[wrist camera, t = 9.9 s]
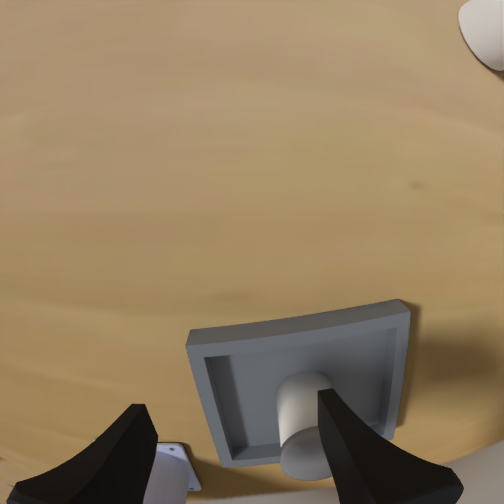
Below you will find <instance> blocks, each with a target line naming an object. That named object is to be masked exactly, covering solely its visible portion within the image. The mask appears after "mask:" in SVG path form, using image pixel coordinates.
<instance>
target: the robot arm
mask: <svg viewBox="0 0 504 504" xmlns="http://www.w3.org/2000/svg"><path fill="white" fill-rule="evenodd" d="M317 398H318V429H319V434H320V438H321V443H322V447H323V450H324V453H325V456H326V458H327V461H328V464H329V467H330V470H331V473H332V476H333V479H334V482H335V485H336V488H337V492H338V496H339V501H340V504H456V502H457V501H458V499H459V498H460V496H461V494H462V492H463V489H464V487H463V485H462V483H461V481H460V480H459V478H458V477H457V475H456V474H455V473H454V472H453V470H452V469H451V468H448V467H444V466H441V465H437V464H434V463H431V462H428V461H426V460H423V459H421V458H418V457H416V456H414V455H412V454H410V453H408V452H406V451H404V450H402V449H400V448H399V447H397V446H395V445H394V444H392V443H391V442H389V441H388V440H386V439H385V438H383V437H382V436H381V435H379V434H378V433H377V432H375V431H374V430H373V429H372V428H371V427H369V426H368V425H367V424H366V423H365V422H364V421H363V420H362V419H361V418H359V417H358V416H357V415H356V414H355V413H354V412H353V411H352V410H351V408H350V407H349V406H348V405H347V404H346V403H345V402H344V401H343V400H342V398H341V397H340V396H339V395H338V393H337V392H336V391H335V390H334V389H333V388H329V389H324V390H318V391H317ZM157 442H158V434H157V432H156V430H155V427H154V425H153V423H152V420H151V418H150V416H149V413H148V411H147V408H146V406H145V404H131V405H130V406H129V407H128V408H127V409H126V410H125V411H124V412H123V413H122V414H121V415H120V417H119V418H118V419H117V420H116V421H115V422H114V423H113V424H112V425H111V426H110V427H109V428H108V429H107V430H106V431H105V432H104V433H103V434H101V435H100V436H99V437H98V438H97V439H94V440H93V442H92V443H91V444H90V445H89V446H88V447H87V448H85V449H84V450H83V451H81V452H80V453H79V454H77V455H76V456H74V457H73V458H71V459H70V460H68V461H66V462H65V463H63V464H61V465H59V466H58V467H56V468H54V469H52V470H50V471H48V472H45V473H43V474H41V475H38V476H35V477H33V478H29V479H26V480H23V481H20V482H17V483H16V484H15V486H14V488H13V490H12V491H11V493H10V495H9V497H8V499H7V501H6V502H7V504H186V499H187V492H188V491H200V490H201V485H200V483H199V481H198V478H197V476H196V474H195V472H194V470H193V468H192V465H191V463H190V461H189V459H188V456H187V454H186V452H185V449H184V447H183V446H182V445H181V444H179V443H157Z"/></svg>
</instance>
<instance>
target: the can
mask: <svg viewBox="0 0 504 504" xmlns="http://www.w3.org/2000/svg"><path fill="white" fill-rule="evenodd" d="M459 27H460V31H461V34H462V36H463V38H464V40H465V42H466V44H467V46H468V47H469V49H470V50H471V51H472V53H473V54H474V55H475V56H476V57H477V58H478V59H479V60H480V61H481V62H483V63H484V64H486V65H487V66H488V67H490V68H492V69H494V70H498V71H502V70H504V0H470V1H469V2H467V3H465V4H464V5H463V6H462V7H461V8H460V11H459Z"/></svg>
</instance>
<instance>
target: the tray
mask: <svg viewBox="0 0 504 504" xmlns="http://www.w3.org/2000/svg"><path fill="white" fill-rule="evenodd" d="M410 316H411V311H410V310H409V309H408V308H407V307H406V306H405V305H404V304H403V303H402V302H401V301H400V300H399V299H394V300H389V301H384V302H379V303H374V304H369V305H363V306H358V307H352V308H347V309H341V310H335V311H329V312H323V313H317V314H311V315H305V316H298V317H291V318H284V319H277V320H270V321H263V322H255V323H247V324H239V325H231V326H222V327H213V328H204V329H194V330H190V333H189V336H188V339H187V342H186V345H185V346H186V350H187V354H188V358H189V361H190V365H191V369H192V372H193V376H194V379H195V383H196V386H197V390H198V393H199V396H200V400H201V403H202V406H203V410H204V413H205V416H206V419H207V423H208V426H209V429H210V432H211V435H212V438H213V441H214V444H215V447H216V450H217V453H218V456H219V459H220V462H221V464H222V467H223V468H228V467H243V466H255V465H265V464H274V463H281V460H280V449H281V443H280V433H279V423H278V413H277V404H276V390H277V388H278V386H279V384H280V383H281V382H282V381H283V380H284V379H285V378H286V377H288V376H290V375H291V374H294V373H296V372H300V371H309V370H310V371H317V372H320V373H322V374H324V375H326V376H327V377H328V378H329V379H330V381H331V383H332V386H333V389H334V390H335V391H336V392H337V393H338V395H339V396H340V397H341V398H342V400H343V401H344V402H345V403H346V404H347V405H348V406H349V407H350V408H351V410H352V411H353V412H354V413H355V414H356V415H357V416H358V417H359V418H361V419H362V420H363V421H364V422H365V423H366V424H367V425H368V426H369V427H371V428H372V429H373V430H374V431H375V432H377V433H378V434H379V435H381V436H382V437H383V438H385V439H386V440H391V439H393V436H394V431H395V427H396V422H397V416H398V411H399V405H400V400H401V394H402V387H403V381H404V374H405V366H406V358H407V349H408V340H409V329H410Z"/></svg>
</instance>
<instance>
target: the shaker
mask: <svg viewBox="0 0 504 504" xmlns="http://www.w3.org/2000/svg"><path fill="white" fill-rule="evenodd" d="M329 388H333V386H332V383H331V381H330V379H329V378H328V377H327V376H326V375H324V374H322V373H320V372H317V371H310V370H309V371H300V372H296V373H294V374H291V375H290V376H288V377H286V378H285V379H284V380H283V381H282V382H281V383H280V384H279V386H278V388H277V390H276V404H277V413H278V423H279V433H280V443H281V449H280V460H281V468H282V470H283V472H284V473H285V474H286V475H287V476H289V477H291V478H293V479H297V480H302V481H316V480H322V479H326V478H329V477H332V473H331V470H330V467H329V464H328V461H327V458H326V456H325V453H324V450H323V447H322V443H321V438H320V434H319V429H318V398H317V391H318V390H324V389H329Z"/></svg>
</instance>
